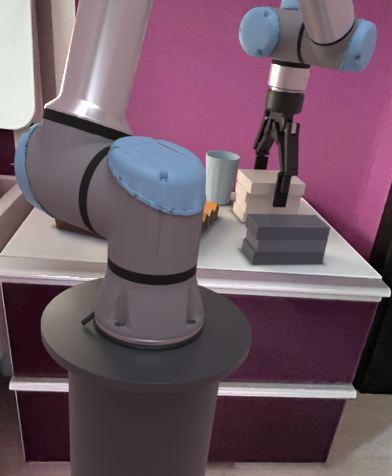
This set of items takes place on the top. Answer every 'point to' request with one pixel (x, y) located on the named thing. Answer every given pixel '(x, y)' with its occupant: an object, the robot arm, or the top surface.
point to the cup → (220, 175)
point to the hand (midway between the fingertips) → (267, 196)
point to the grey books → (285, 239)
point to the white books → (261, 204)
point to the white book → (266, 182)
